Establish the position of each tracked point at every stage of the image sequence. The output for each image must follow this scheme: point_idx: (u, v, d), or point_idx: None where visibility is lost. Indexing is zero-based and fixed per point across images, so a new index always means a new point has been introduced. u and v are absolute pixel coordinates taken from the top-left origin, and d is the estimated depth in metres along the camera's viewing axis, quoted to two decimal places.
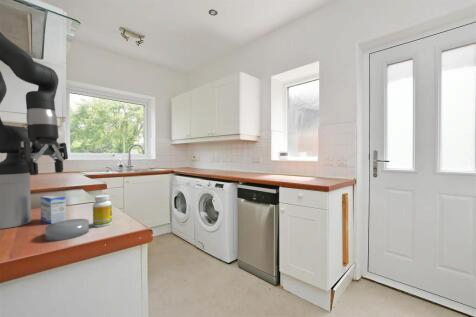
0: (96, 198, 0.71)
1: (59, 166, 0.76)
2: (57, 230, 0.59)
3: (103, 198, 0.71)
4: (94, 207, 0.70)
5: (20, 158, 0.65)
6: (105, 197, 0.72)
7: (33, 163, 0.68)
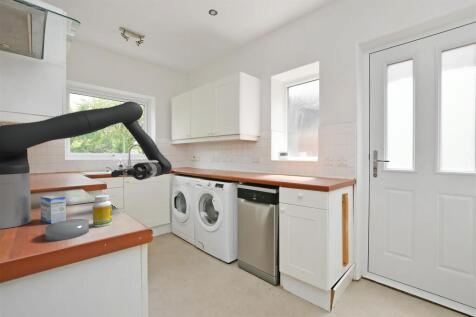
0: (96, 198, 0.71)
1: (116, 175, 0.86)
2: (57, 230, 0.59)
3: (103, 198, 0.71)
4: (94, 207, 0.70)
5: (147, 170, 0.88)
6: (105, 197, 0.72)
7: (139, 175, 0.87)
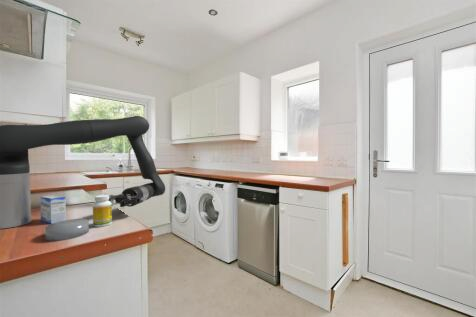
0: (96, 198, 0.71)
1: None
2: (57, 230, 0.59)
3: (103, 198, 0.71)
4: (94, 207, 0.70)
5: (136, 198, 0.81)
6: (105, 197, 0.72)
7: None
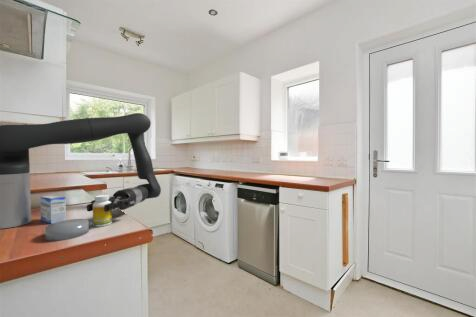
0: (96, 198, 0.71)
1: None
2: (57, 230, 0.59)
3: (103, 198, 0.71)
4: (94, 207, 0.70)
5: (123, 202, 0.75)
6: (105, 197, 0.72)
7: None
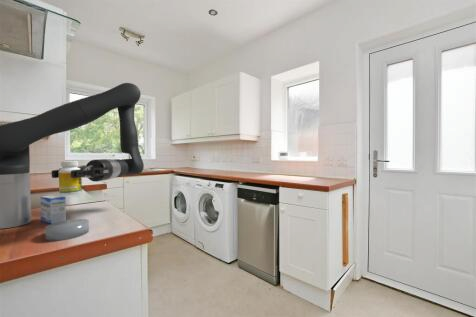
0: (62, 163, 0.63)
1: None
2: (57, 230, 0.59)
3: (70, 163, 0.63)
4: (60, 173, 0.62)
5: (94, 169, 0.67)
6: (73, 162, 0.64)
7: (83, 175, 0.65)
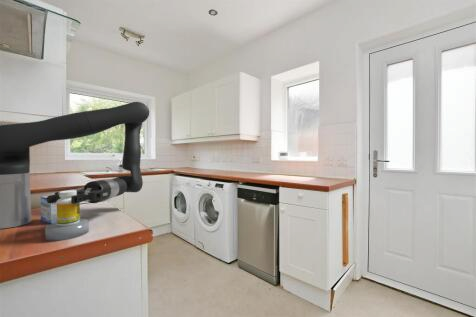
0: (60, 194, 0.62)
1: (56, 200, 0.64)
2: (57, 230, 0.59)
3: (68, 193, 0.63)
4: (58, 204, 0.62)
5: (95, 193, 0.66)
6: (71, 193, 0.63)
7: None
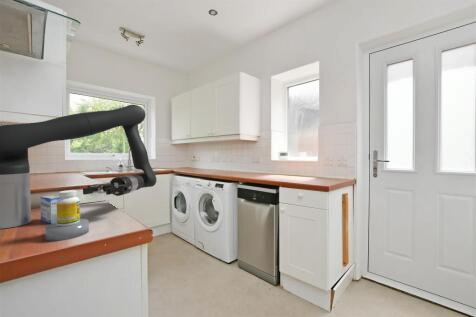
0: (60, 194, 0.62)
1: (89, 192, 0.78)
2: (57, 230, 0.59)
3: (68, 193, 0.63)
4: (58, 204, 0.62)
5: (124, 187, 0.80)
6: (71, 192, 0.63)
7: None
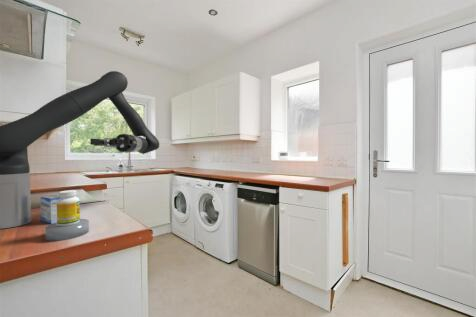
0: (60, 194, 0.62)
1: (96, 143, 0.81)
2: (57, 230, 0.59)
3: (68, 193, 0.63)
4: (58, 204, 0.62)
5: (129, 139, 0.83)
6: (71, 193, 0.63)
7: (121, 143, 0.82)
